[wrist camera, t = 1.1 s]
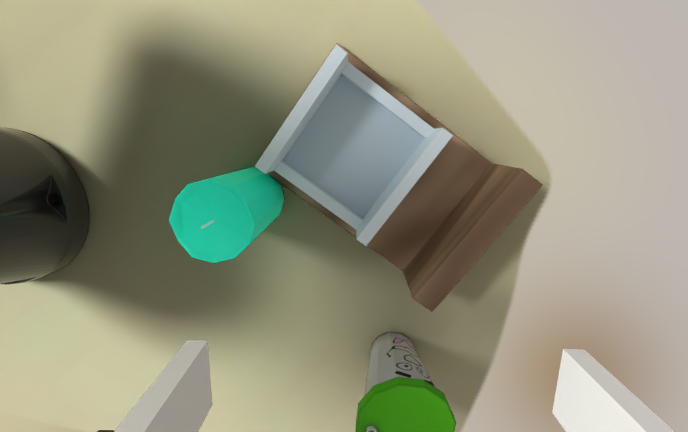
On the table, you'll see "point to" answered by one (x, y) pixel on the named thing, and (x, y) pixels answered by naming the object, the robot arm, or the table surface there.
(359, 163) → the light blue holder
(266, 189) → the candle
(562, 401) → the robot arm
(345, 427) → the table surface
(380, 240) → the track
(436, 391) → the cup
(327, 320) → the table surface
